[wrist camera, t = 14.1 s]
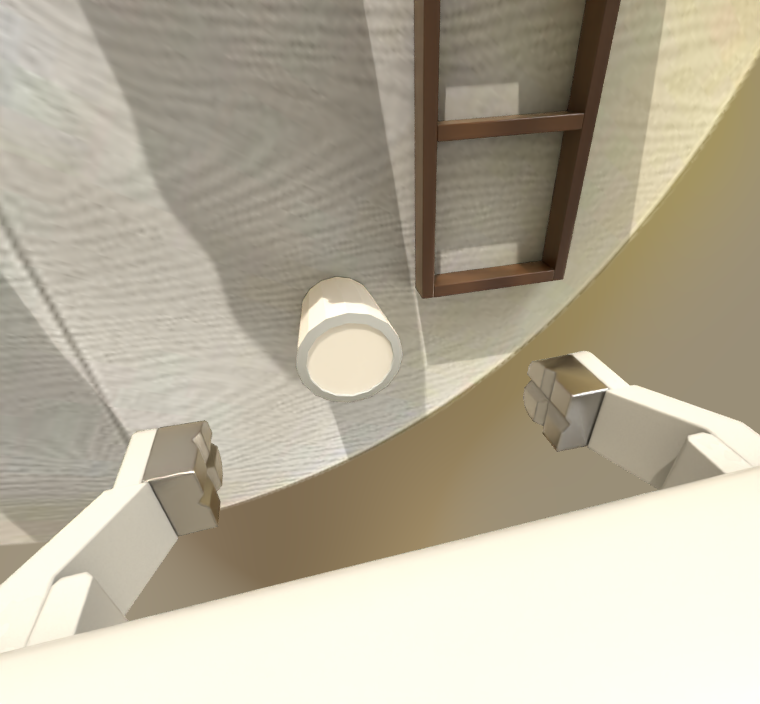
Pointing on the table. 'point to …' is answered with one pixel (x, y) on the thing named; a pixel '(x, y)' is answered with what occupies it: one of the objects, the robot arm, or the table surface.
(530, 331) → the table surface
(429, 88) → the holder
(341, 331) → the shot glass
